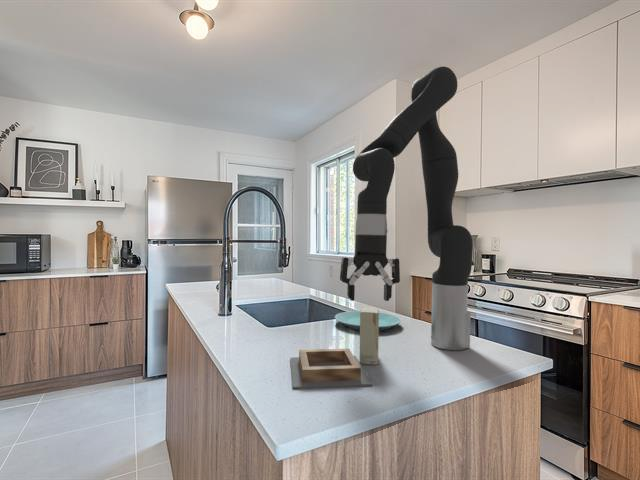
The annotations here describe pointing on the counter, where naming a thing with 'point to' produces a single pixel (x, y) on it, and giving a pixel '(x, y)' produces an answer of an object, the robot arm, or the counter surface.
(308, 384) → the mat
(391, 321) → the plate
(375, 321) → the skincare box
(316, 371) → the collar
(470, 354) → the counter surface
